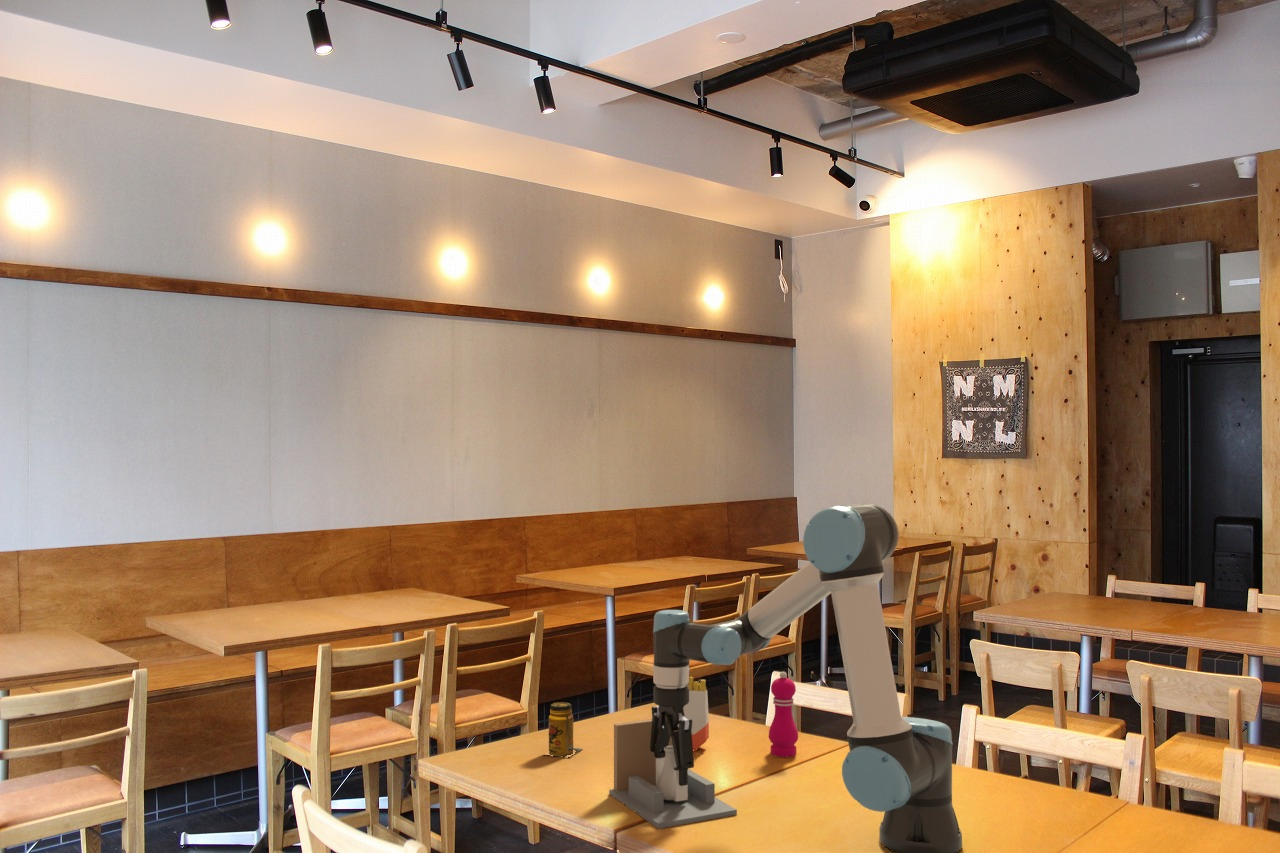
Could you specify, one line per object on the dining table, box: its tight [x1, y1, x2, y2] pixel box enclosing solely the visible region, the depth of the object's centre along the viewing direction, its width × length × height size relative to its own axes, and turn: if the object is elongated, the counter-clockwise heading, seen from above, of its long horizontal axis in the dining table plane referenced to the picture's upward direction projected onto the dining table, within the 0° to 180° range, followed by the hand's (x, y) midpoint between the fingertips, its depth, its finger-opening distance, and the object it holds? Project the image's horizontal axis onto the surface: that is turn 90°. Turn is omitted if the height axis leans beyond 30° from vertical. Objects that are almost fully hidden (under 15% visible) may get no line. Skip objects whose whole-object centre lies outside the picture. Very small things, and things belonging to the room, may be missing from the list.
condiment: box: [548, 701, 584, 759], centre depth 256 cm, size 7×8×12 cm
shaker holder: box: [608, 718, 738, 830], centre depth 218 cm, size 23×18×15 cm
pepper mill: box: [768, 671, 799, 758], centre depth 255 cm, size 7×7×20 cm
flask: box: [657, 746, 689, 800], centre depth 218 cm, size 7×7×10 cm
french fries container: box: [683, 676, 710, 752], centre depth 260 cm, size 5×11×18 cm, turn 75°
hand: (671, 794), depth 218 cm, fingers closed on flask, 7 cm apart
